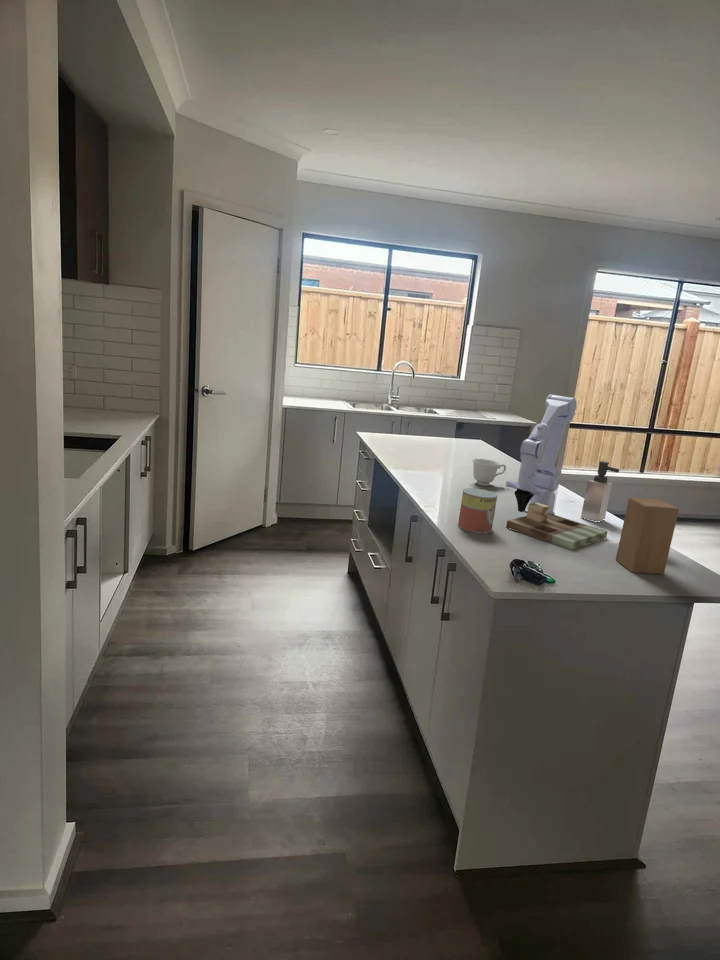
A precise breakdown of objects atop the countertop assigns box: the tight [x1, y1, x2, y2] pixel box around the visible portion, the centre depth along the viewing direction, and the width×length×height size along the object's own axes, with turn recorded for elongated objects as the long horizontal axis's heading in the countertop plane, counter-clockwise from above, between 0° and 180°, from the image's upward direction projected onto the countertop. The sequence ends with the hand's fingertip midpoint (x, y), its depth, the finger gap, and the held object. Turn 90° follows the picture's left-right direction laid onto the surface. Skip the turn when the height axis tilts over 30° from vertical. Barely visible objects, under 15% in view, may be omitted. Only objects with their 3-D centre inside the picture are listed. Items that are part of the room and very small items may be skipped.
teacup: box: [472, 458, 507, 487], centre depth 270 cm, size 12×15×10 cm
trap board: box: [505, 513, 608, 551], centre depth 209 cm, size 24×24×2 cm
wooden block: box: [615, 496, 679, 575], centre depth 181 cm, size 10×10×20 cm
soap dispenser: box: [580, 460, 620, 522], centre depth 229 cm, size 6×9×22 cm
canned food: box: [457, 487, 498, 534], centre depth 204 cm, size 11×11×12 cm
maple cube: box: [526, 503, 549, 522], centre depth 214 cm, size 5×5×5 cm
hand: (521, 511), depth 218 cm, fingers closed
